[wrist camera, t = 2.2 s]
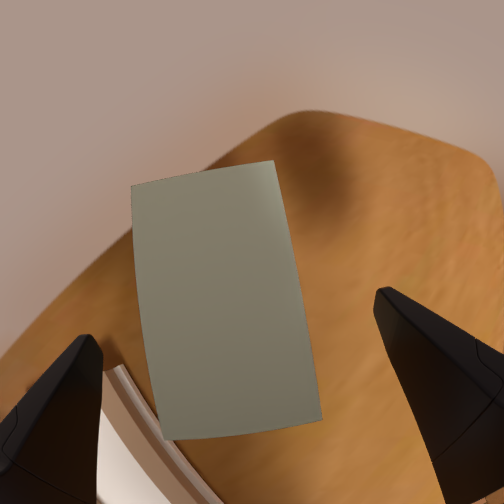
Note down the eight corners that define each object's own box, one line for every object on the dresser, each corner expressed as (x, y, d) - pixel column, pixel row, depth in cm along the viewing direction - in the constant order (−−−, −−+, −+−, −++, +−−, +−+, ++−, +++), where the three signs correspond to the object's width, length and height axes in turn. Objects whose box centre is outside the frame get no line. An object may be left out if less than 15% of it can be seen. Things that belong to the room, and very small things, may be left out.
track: (249, 530, 14) (249, 545, 12) (139, 559, 13) (132, 571, 11) (123, 363, 16) (110, 367, 15) (29, 416, 15) (15, 421, 13)
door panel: (280, 361, 16) (322, 419, 6) (219, 370, 16) (164, 440, 6) (262, 257, 18) (273, 160, 7) (202, 267, 18) (131, 186, 7)
